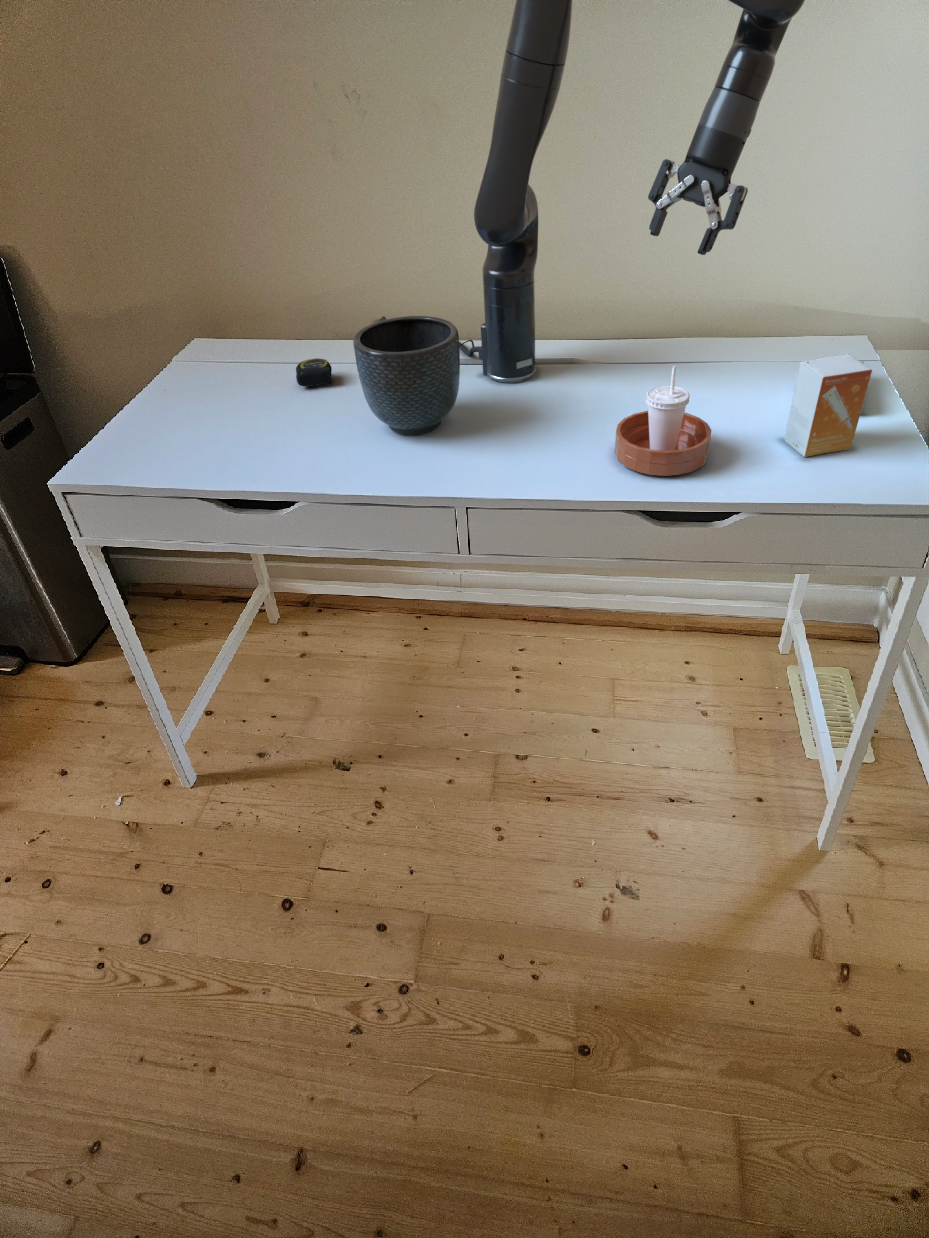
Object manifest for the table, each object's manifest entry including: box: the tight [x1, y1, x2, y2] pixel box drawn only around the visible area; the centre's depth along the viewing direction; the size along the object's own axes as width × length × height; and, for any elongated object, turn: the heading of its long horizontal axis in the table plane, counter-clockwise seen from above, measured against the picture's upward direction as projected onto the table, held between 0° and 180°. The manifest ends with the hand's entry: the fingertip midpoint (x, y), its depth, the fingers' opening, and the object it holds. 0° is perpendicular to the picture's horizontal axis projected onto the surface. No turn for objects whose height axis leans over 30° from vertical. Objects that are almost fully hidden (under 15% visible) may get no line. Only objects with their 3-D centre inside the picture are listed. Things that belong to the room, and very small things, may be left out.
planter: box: [352, 315, 461, 437], centre depth 137 cm, size 17×17×16 cm
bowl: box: [614, 410, 712, 477], centre depth 126 cm, size 14×14×4 cm
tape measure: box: [295, 358, 333, 387], centre depth 158 cm, size 7×7×4 cm
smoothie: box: [645, 365, 690, 451], centre depth 123 cm, size 6×6×14 cm
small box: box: [783, 353, 873, 458], centre depth 123 cm, size 8×6×13 cm
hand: (677, 244), depth 129 cm, fingers open, 8 cm apart
